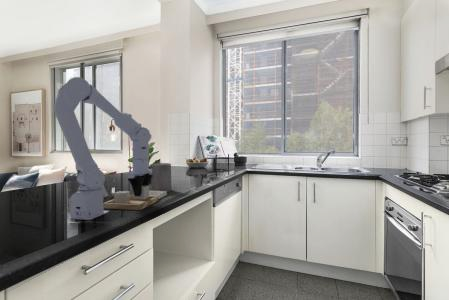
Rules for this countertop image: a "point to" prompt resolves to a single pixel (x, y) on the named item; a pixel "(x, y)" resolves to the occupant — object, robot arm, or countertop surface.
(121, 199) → the stone
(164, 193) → the stoneware dish
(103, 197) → the flask
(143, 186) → the stone
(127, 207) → the wooden tray
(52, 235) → the countertop surface
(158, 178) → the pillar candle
